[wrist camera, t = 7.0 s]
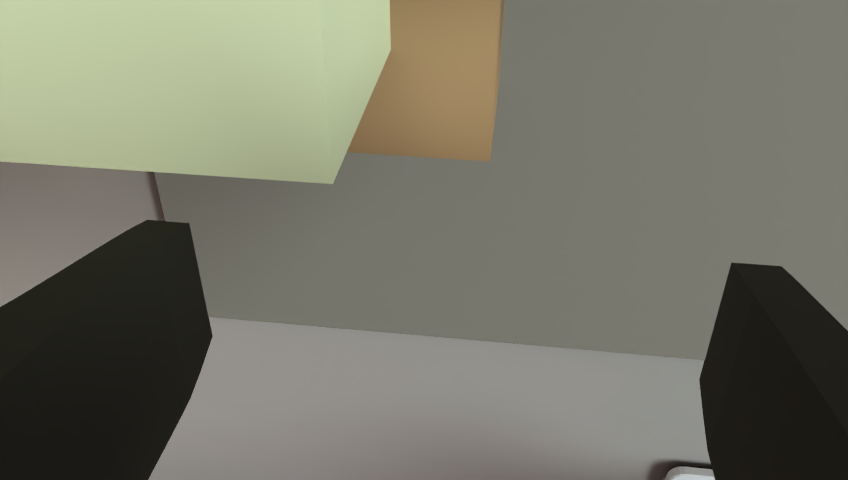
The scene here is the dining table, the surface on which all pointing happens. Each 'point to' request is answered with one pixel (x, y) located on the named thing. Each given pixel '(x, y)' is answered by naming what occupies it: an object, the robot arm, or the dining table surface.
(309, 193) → the building mat
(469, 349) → the dining table surface
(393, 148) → the walnut base block
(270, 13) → the sage cube
